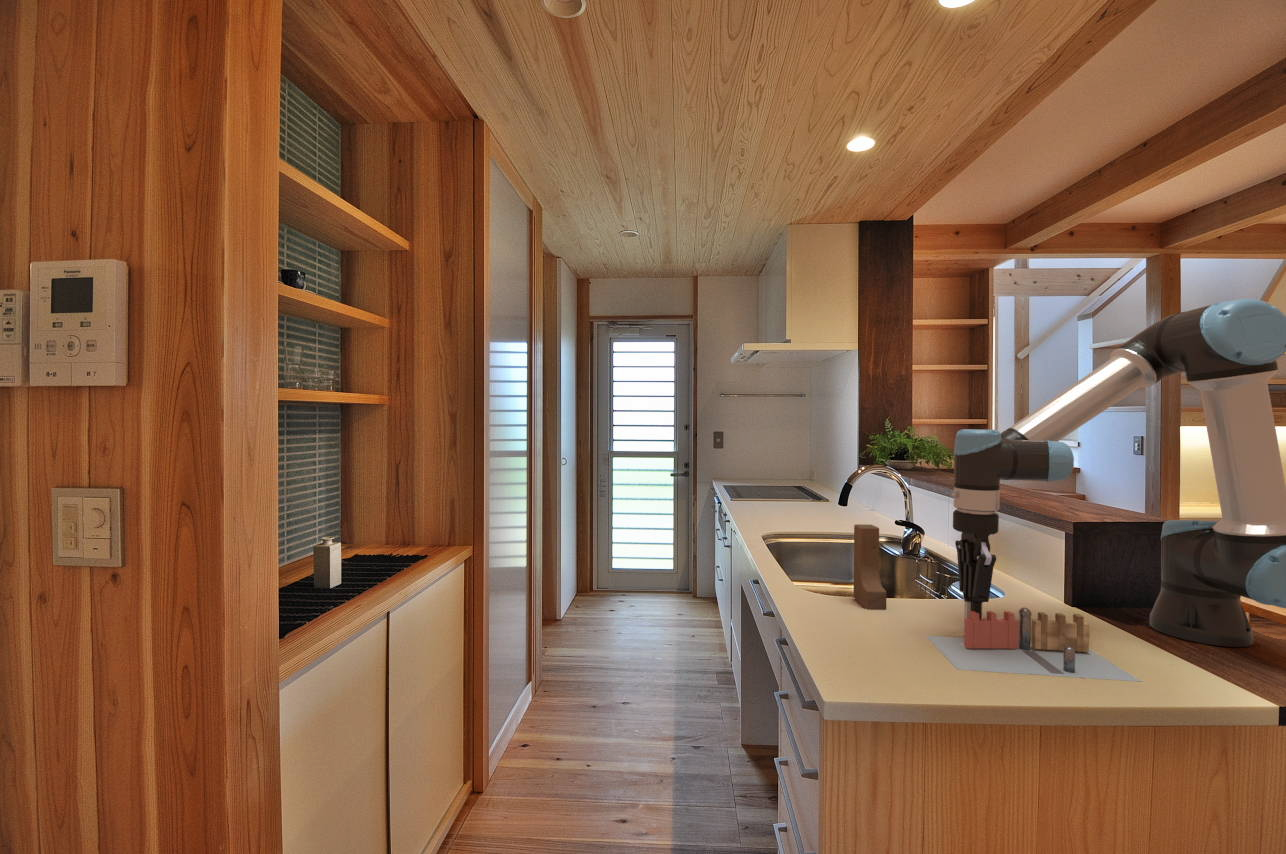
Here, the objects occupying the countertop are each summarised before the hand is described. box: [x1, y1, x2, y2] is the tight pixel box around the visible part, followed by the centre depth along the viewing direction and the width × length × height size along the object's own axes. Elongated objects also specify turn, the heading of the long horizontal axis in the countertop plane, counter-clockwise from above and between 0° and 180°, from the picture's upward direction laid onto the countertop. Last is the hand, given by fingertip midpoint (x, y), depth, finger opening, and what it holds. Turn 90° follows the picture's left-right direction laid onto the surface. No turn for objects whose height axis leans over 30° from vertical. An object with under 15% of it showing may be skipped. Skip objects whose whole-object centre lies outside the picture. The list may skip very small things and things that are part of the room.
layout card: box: [925, 635, 1143, 683], centre depth 104 cm, size 28×16×1 cm, turn 82°
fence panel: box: [963, 610, 1019, 649], centre depth 108 cm, size 10×1×6 cm, turn 91°
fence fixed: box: [1031, 611, 1090, 652], centre depth 107 cm, size 9×1×6 cm, turn 82°
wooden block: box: [852, 523, 888, 611], centre depth 135 cm, size 9×4×18 cm, turn 179°
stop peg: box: [1063, 645, 1075, 673], centre depth 98 cm, size 2×2×4 cm
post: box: [1018, 606, 1032, 651], centre depth 108 cm, size 2×2×8 cm
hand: (972, 634), depth 110 cm, fingers closed
